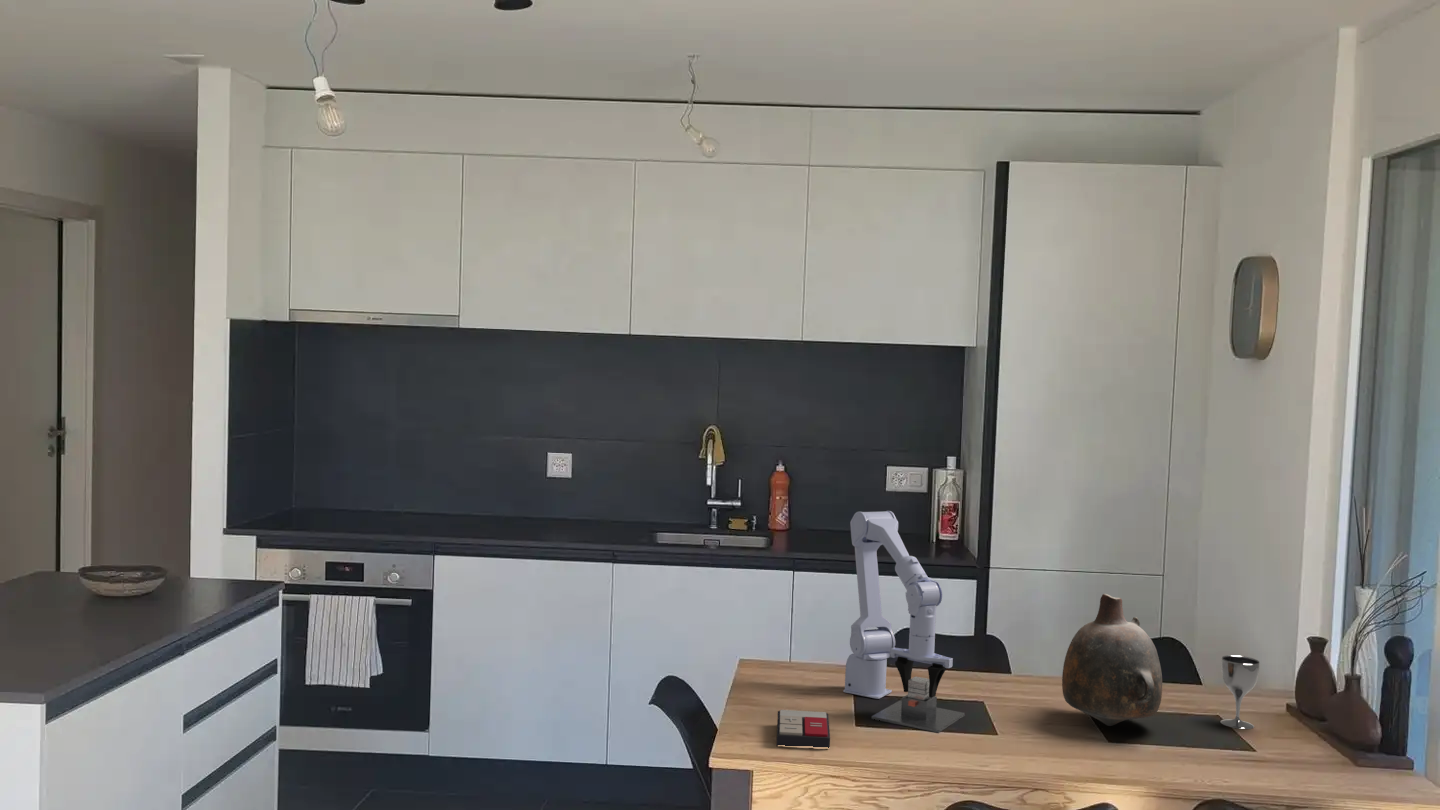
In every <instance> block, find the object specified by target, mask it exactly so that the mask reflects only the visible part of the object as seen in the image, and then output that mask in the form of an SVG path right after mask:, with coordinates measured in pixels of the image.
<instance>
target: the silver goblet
mask: <svg viewBox="0 0 1440 810" xmlns="http://www.w3.org/2000/svg"><path fill="white" fill-rule="evenodd" d="M1260 664H1261V663H1260V660H1258V659H1255V658H1253V657H1249V656H1245V655H1244V656H1243V655H1232V654H1231V655H1230V654H1229V655H1223V656H1222V657H1221V675H1222V679H1223V682H1224V684H1225V686H1226V687H1227V689H1228V690H1229V691H1230V692H1231V693H1232V695H1233V698H1234V701H1235V716H1234V717H1235V718H1233V719H1232V718H1227V719H1221V720H1220V724H1222V725H1223V726H1226V727H1229V728H1233V729H1238V730H1250V729H1251V730H1252V729H1254V728H1255V725H1254V724H1252V723H1250V722H1249V721H1244V720H1242V719H1241V718H1240V712H1241V711H1240V710H1241V705H1242V701H1243V699H1244V697H1245V696H1246V695H1247V694H1248V693H1249V692H1251V691H1252V690H1253V689H1254V688H1255V686H1256V684H1257V682H1258V678H1259V674H1260V673H1259V672H1260Z"/></svg>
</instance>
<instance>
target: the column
mask: <svg viewBox="0 0 1440 810" xmlns="http://www.w3.org/2000/svg"><path fill="white" fill-rule="evenodd" d="M907 695H908V698H910V699H915V700H920V701H927V700H929V699H930V698H931V697H929V678H927V677H921V676H914V677H911V679H910V680H908V692H907Z"/></svg>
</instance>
